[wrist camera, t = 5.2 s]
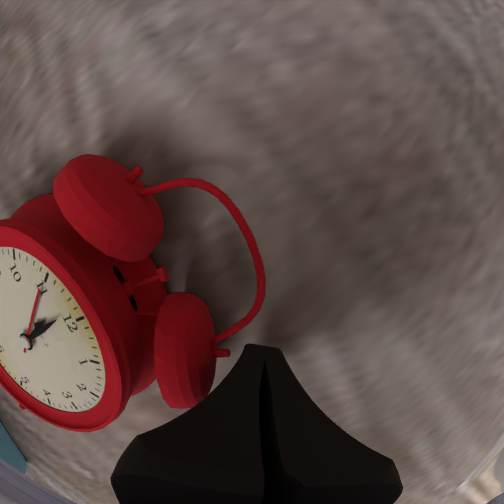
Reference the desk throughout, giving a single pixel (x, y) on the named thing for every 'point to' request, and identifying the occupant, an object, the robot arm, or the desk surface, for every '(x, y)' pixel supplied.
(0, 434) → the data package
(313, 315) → the desk surface
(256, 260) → the alarm clock
